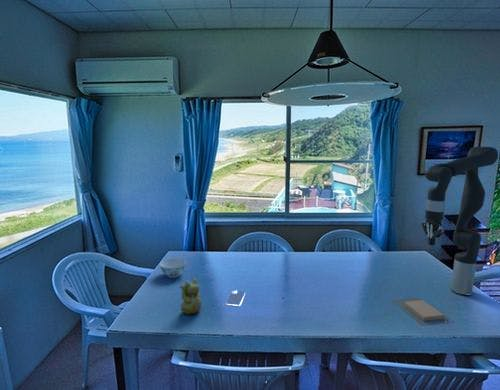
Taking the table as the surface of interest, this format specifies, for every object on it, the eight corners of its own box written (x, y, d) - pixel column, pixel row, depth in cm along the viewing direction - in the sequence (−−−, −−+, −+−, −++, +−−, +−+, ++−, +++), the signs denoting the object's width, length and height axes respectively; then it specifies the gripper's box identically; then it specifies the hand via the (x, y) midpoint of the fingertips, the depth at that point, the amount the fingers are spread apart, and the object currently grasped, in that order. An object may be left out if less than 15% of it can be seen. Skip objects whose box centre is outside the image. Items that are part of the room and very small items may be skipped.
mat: (389, 301, 152) (389, 299, 152) (419, 298, 155) (419, 297, 154) (421, 327, 131) (421, 325, 130) (454, 323, 133) (454, 322, 133)
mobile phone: (224, 304, 147) (232, 289, 162) (224, 306, 147) (232, 291, 162) (240, 305, 146) (246, 290, 161) (240, 307, 146) (246, 292, 161)
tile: (404, 301, 146) (423, 316, 133) (423, 300, 148) (444, 315, 135) (403, 305, 146) (423, 321, 134) (422, 304, 148) (443, 319, 135)
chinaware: (189, 270, 187) (189, 258, 185) (182, 281, 172) (181, 268, 171) (165, 269, 188) (165, 257, 187) (156, 280, 174) (155, 267, 172)
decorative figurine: (194, 304, 148) (193, 274, 145) (206, 310, 143) (205, 279, 140) (178, 312, 141) (177, 282, 138) (190, 319, 135) (189, 287, 133)
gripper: (453, 212, 139) (448, 249, 142) (431, 206, 151) (428, 240, 154) (438, 212, 137) (434, 250, 140) (417, 206, 150) (414, 241, 153)
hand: (431, 244), depth 147 cm, fingers closed
